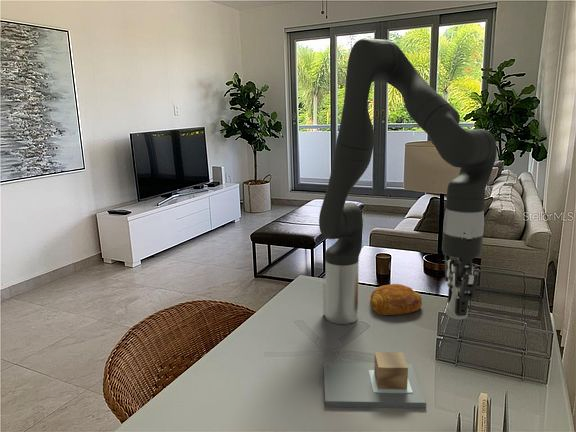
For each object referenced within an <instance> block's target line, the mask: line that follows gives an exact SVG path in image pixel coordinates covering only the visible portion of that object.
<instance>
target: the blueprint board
mask: <svg viewBox="0 0 576 432" xmlns="http://www.w3.org/2000/svg"><path fill="white" fill-rule="evenodd" d="M374 364H375V363H371V362H370V363H368V362H367V363H366V362H363V363H362V362H361V363H360V362H359V363H358V362H357V363H356V362H355V363H353V362H348V363H347V362H345V363H344V362H324V363H323V383H324V384H323V387H324V406H325V407H337V408H338V407H340V408H341V407H343V408H347V407H348V408H401V409H402V408H404V409H405V408H407V409H409V408H410V409H426V408H427V402H426V401H427V400H426V398H425V396H424V393H423V390H422V389H421V385H420V383H419V380H418V377H417V374H416V373H415V370H414V368H413V365H412V363H407V366H408V381H407V389H378V387H377V383H376V378H375V374H374Z"/></svg>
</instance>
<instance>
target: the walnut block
mask: <svg viewBox="0 0 576 432" xmlns="http://www.w3.org/2000/svg"><path fill="white" fill-rule="evenodd" d="M373 364H374V374H375V378H376V383H377V387H378V389H407V381H408V366H407V364H408V363H407V361H406V358H405V355H404V352H399V351H398V352H393V351H392V352H387V351H382V352H381V351H375V352H374V363H373Z"/></svg>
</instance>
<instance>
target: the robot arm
mask: <svg viewBox="0 0 576 432" xmlns="http://www.w3.org/2000/svg"><path fill="white" fill-rule="evenodd" d="M345 77H346V79H345V87H344V99H343V107H342V113H341V118H340V123H339V128H338V129H339V130H338V132H337V133H338V134H337V138H336V141H335V142H336V143H335V148H334V155H333V161H332V166H331V171H330V175H329V180H328V185H327V187H326V191H325V194H324V198H323V201H322V204H321V207H320V212H319V219H318V226H319V227H318V228H319V230H320V233H321V236H322V237H324V238H325V239H328V240H335V239H337V240H336V242H334V244H332V245H331V246H329V247H328V248H327V249H326V250H325V253H324V254H325V256H324V257H325V258H324V259H325V267H324V268H325V270H324V271H325V283H323V285H322V289H323V291H322V295H323V297H322V304H323V305H322V307H323V308H322V314H323V316H324V317H325V319H326V320H327V321H328V322H330V323H333V324H337V325H348V324H353V323H355V322H357V320H358V318H359V316H358V315H359V314H358V313H359V268H360V267H359V264H360V263H359V261H360V260H359V259H360V254H361V252H362V246H363V245H362V243H363V233H364V232H363V231H364V230H363V229H364V220H363V219H364V217H363V212H362V210H361V208H360V206H358V204H356V203H355V202H346V201H347V198H348V196H349V194H350V192H351V190H352V189H353V188H354V186H355V185H356V183H358V182H359V180H360V179H361V178H362V176H363V175H364V174H365V172H366V171H367V169H368V167H369V165H370V163H371V159H372V155H373V150H374V146H375V140H376V134H375V131H374V126H373V123H372V119H371V116H370V112H369V97H370V91H371V86H372V83H383V82H385V83H387V84H388V85H390V86H391V87H393V88H394V89H396V90H397V92H399V94H400V95H401V97H402V99H403V103H404V106H405V109H406V111H407V113H408V115H409V116H410V118H411V119H412V120H413V122H415V123H416V124H417V125H418V127H419V128H420V129H422V130H423V132H425V133H426V134H427V135H428V136H429V138H430V140H431V142H432V144H433V145H434V147H435V149H436V151H437V152H438V155H440V157H441V159H443V161H444V162H446V163H447V164H448V165H450V166H452V167H454V168H458V169H459V168H460V170H459V173H458V175H457V176H456V177H455V178H453V179H452V180H450V181H449V183H448V185H447V189H446V190H447V191H446V201H445V212H444V217H443V225H442V226H443V228H442V229H443V230H442V242H441V251H442V252H443V254H444V280H445V282H447V284H446V285H447V288H448V293H447V305H448V304H449V302H450V300H451V296H452V291H451V289H452V288H453V286H452V285H451V282H452V281H453V285H454V286H455V287H456V302H455V314H456V315H457V316H465V315H466V314H467V313H468V312H467V308H468V302H469V300H471V301H473V300H474V298H475V293H476V288H477V285H478V281H479V276H478V274H477V273H476V274H475V273H474V264H473V260H474V259H476V258H478V257H480V256H481V255H482V253H483V252H482V251H483V250H482V249H483V239H484V228H485V215H484V214H485V212H484V211H485V210H484V209H485V201H486V200H485V199H486V189H487V185H488V183H489V181H490V178H491V174H492V172H493V169H494V166H495V163H496V159H497V152H498V150H497V140H496V139H495V137H494V135H493V134H492V133H491V132H490V131H489V130H488V129H483V128H473V129H465V128H464V127H462V126H461V125H459V124H460V121H461V116H460V114H459V112H458V110H456V108H455V107H453V105H451V103H449V102H448V101H447V100H446V99H445V98H444V97H442V95H441V94H439V93H438V92H437V91H436V90H435V89H434V88H433V87H431V85H430V84H429V83H427V81H426V80H425V79H424V78H423V77H422V76H421V74H420V73H419V72H418V71H417V69H416V68H415V67H414V65H413V64H412V62H411V61H410V60H409V58H408V57H407V55H406V54H405V52H403V51H402V49H401V48H400V47H399V46H398V45H397V44H396V43H395V42H394V41H391V40H389V39H375V38H361V39H358V40H357V41H356V42H355V43H354V44H353V46H352V47H351V49H350V52H349V56H348V60H347V67H346V76H345ZM458 281H462V283H458ZM465 291H466V292H465Z"/></svg>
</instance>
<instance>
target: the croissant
mask: <svg viewBox="0 0 576 432" xmlns="http://www.w3.org/2000/svg"><path fill="white" fill-rule="evenodd" d="M369 303H370V306H371V309H372V310H373V311H374V312H375V313H377V314H378V315H380V316H393V315H394V316H395V315H404V314H409V313H413V312H416V311H418V310H420V308H421V307H422V304H423V301H422V296H421V295H420V293H419V292H417V291H415V290H413V288H412V287H409V286H407V285H404V284H399V283H392V284H385V285H383V284H382V285H381V286H378V287H376V288H375V289H374V290H373V291H372V293H371V295H370V300H369Z"/></svg>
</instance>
